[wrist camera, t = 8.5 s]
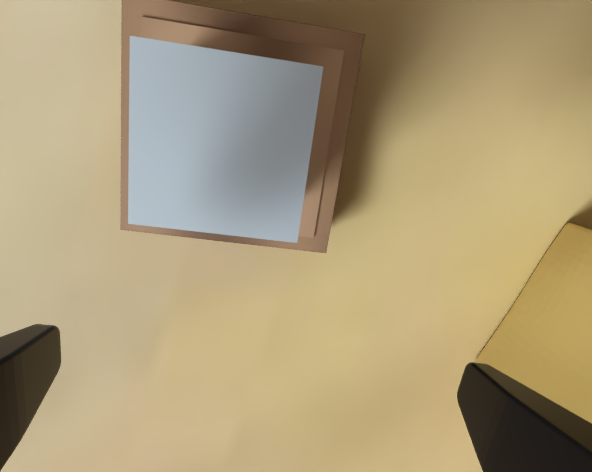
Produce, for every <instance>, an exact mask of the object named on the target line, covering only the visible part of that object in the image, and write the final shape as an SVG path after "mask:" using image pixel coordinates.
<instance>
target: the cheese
mask: <svg viewBox="0 0 592 472" xmlns="http://www.w3.org/2000/svg"><path fill="white" fill-rule="evenodd" d="M476 363H485V364H488V365H490V366H492V367H494V368H495V369H497V370H499V371H501V372H502V373H504V374H506V375H508V376H509V377H511V378H513V379H515V380H516V381H518V382H520V383H522V384H523V385H525V386H527V387H529V388H530V389H532V390H534V391H536V392H537V393H539V394H541V395H543V396H544V397H546V398H548V399H550V400H551V401H553V402H555V403H557V404H558V405H560V406H562V407H564V408H565V409H567V410H569V411H571V412H573V413H574V414H576V415H578V416H580V417H581V418H583V419H585V420H587V421H588V422H590V423H592V230H591V229H588V228H585V227H582V226H579V225H576V224H573V223H567V224H566V225H565V226H564V227H563V229H562V230H561V231H560V233H559V234H558V236H557V237H556V238H555V240H554V241H553V243H552V244H551V246H550V247H549V249H548V250H547V252H546V253H545V255H544V256H543V258H542V259H541V261H540V263H539V264H538V266H537V267H536V269H535V271H534V272H533V274H532V275H531V277H530V279H529V280H528V282H527V284H526V285H525V287H524V288H523V290H522V292H521V293H520V295H519V297H518V298H517V300H516V301H515V303H514V305H513V306H512V308H511V309H510V311H509V312H508V314H507V315H506V317H505V318H504V320H503V321H502V322H501V324H500V325H499V327H498V328H497V330H496V331H495V333H494V334H493V336H492V337H491V338H490V340H489V341H488V343H487V344H486V346H485V347H484V349H483V350H482V351H481V353H480V354H479V356H478V357H477V359H476Z"/></svg>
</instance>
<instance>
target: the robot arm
mask: <svg viewBox="0 0 592 472" xmlns="http://www.w3.org/2000/svg"><path fill="white" fill-rule="evenodd" d="M60 364H61V347H60V332H59V329H58V328H57V327H56V326H53V325H43V324H35V325H32V326H29V327H26V328H24V329H21V330H18V331H16V332H13V333H10V334H8V335H5V336H2V337H0V471H1V469H2V468H3V466H4V465H5V463H6V462H7V460H8V459H9V457H10V456H11V454H12V453H13V451H14V450H15V448H16V447H17V445H18V444H19V442H20V441H21V439H22V437H23V435H24V434H25V432H26V430H27V428H28V427H29V425H30V423H31V421H32V419H33V417H34V415H35V414H36V412H37V410H38V408H39V406H40V404H41V402H42V401H43V399H44V397H45V395H46V393H47V391H48V390H49V388H50V386H51V384H52V382H53V380H54V378H55V377H56V375H57V373H58V371H59V368H60ZM457 399H458V404H459V407H460V409H461V412H462V415H463V418H464V421H465V423H466V426H467V429H468V432H469V435H470V438H471V440H472V443H473V446H474V449H475V452H476V454H477V457H478V460H479V462H480V465H481V467H482V470H483V472H592V423H590V422H588V421H587V420H585V419H583V418H581V417H580V416H578V415H576V414H574V413H573V412H571V411H569V410H567V409H565V408H564V407H562V406H560V405H558V404H557V403H555V402H553V401H551V400H550V399H548V398H546V397H544V396H543V395H541V394H539V393H537V392H536V391H534V390H532V389H530V388H529V387H527V386H525V385H523V384H522V383H520V382H518V381H516V380H515V379H513V378H511V377H509V376H508V375H506V374H504V373H502V372H501V371H499V370H497V369H495V368H494V367H492V366H490V365H488V364H485V363H474V362H471V363H468V364H467V365H466V367H465V370H464V373H463V376H462V379H461V382H460V385H459V388H458V392H457Z"/></svg>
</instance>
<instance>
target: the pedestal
mask: <svg viewBox="0 0 592 472" xmlns="http://www.w3.org/2000/svg"><path fill="white" fill-rule="evenodd" d="M364 35H365V34H361V33H355V32H349V31H343V30H337V29H332V28H326V27H320V26H314V25H308V24H303V23H297V22H291V21H285V20H279V19H274V18H268V17H262V16H256V15H250V14H245V13H239V12H233V11H227V10H221V9H216V8H210V7H204V6H198V5H192V4H187V3H181V2H175V1H169V0H122V54H121V230H127V231H136V232H145V233H154V234H162V235H171V236H180V237H189V238H197V239H206V240H215V241H224V242H233V243H241V244H250V245H259V246H268V247H276V248H285V249H294V250H303V251H311V252H320V253H326V251H327V246H328V240H329V234H330V229H331V223H332V217H333V212H334V206H335V200H336V194H337V189H338V183H339V177H340V172H341V166H342V160H343V155H344V149H345V143H346V138H347V132H348V126H349V121H350V115H351V109H352V104H353V98H354V92H355V87H356V81H357V75H358V69H359V64H360V58H361V52H362V47H363V41H364ZM130 36H135V37H142V38H148V39H154V40H161V41H167V42H173V43H179V44H186V45H192V46H198V47H204V48H211V49H217V50H223V51H229V52H236V53H242V54H248V55H254V56H261V57H267V58H273V59H279V60H286V61H292V62H298V63H304V64H311V65H317V66H323V73H322V80H321V86H320V93H319V100H318V107H317V113H316V120H315V127H314V133H313V140H312V147H311V154H310V160H309V167H308V174H307V181H306V187H305V194H304V201H303V208H302V214H301V221H300V228H299V234H298V241H297V243H293V242H284V241H275V240H266V239H258V238H249V237H240V236H231V235H222V234H214V233H205V232H196V231H187V230H179V229H170V228H161V227H152V226H143V225H135V224H128V175H129V64H130Z"/></svg>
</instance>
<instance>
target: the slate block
mask: <svg viewBox="0 0 592 472" xmlns="http://www.w3.org/2000/svg"><path fill="white" fill-rule="evenodd" d="M322 73H323V66H317V65H311V64H304V63H298V62H292V61H286V60H279V59H273V58H267V57H261V56H254V55H248V54H242V53H236V52H229V51H223V50H217V49H211V48H204V47H198V46H192V45H186V44H179V43H173V42H167V41H161V40H154V39H148V38H142V37H135V36H130V64H129V175H128V224H135V225H143V226H152V227H161V228H170V229H179V230H187V231H196V232H205V233H214V234H222V235H231V236H240V237H249V238H258V239H266V240H275V241H284V242H293V243H297V241H298V234H299V228H300V221H301V214H302V208H303V201H304V194H305V187H306V181H307V174H308V167H309V160H310V154H311V147H312V140H313V133H314V127H315V120H316V113H317V107H318V100H319V93H320V86H321V80H322Z"/></svg>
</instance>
